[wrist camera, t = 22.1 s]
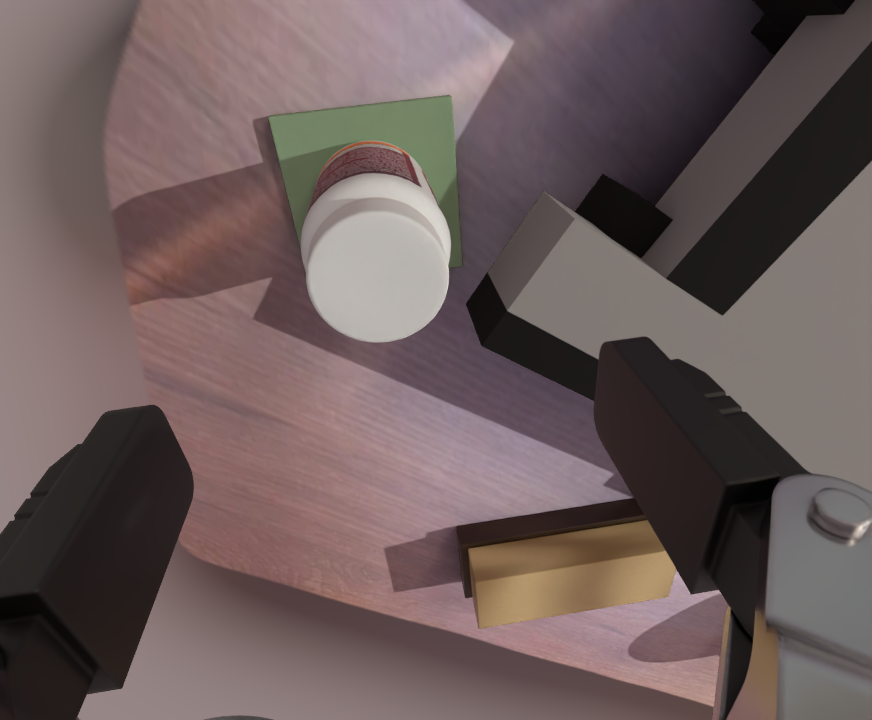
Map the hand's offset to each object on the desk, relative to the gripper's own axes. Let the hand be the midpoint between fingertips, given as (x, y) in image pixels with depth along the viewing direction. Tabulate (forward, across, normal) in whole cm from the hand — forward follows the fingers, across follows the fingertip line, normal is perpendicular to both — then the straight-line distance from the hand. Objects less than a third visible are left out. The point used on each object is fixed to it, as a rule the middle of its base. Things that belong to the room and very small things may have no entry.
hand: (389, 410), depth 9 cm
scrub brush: (+15, -13, +25) cm, 32 cm away
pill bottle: (+14, 0, 0) cm, 14 cm away
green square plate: (+14, 0, 0) cm, 15 cm away
